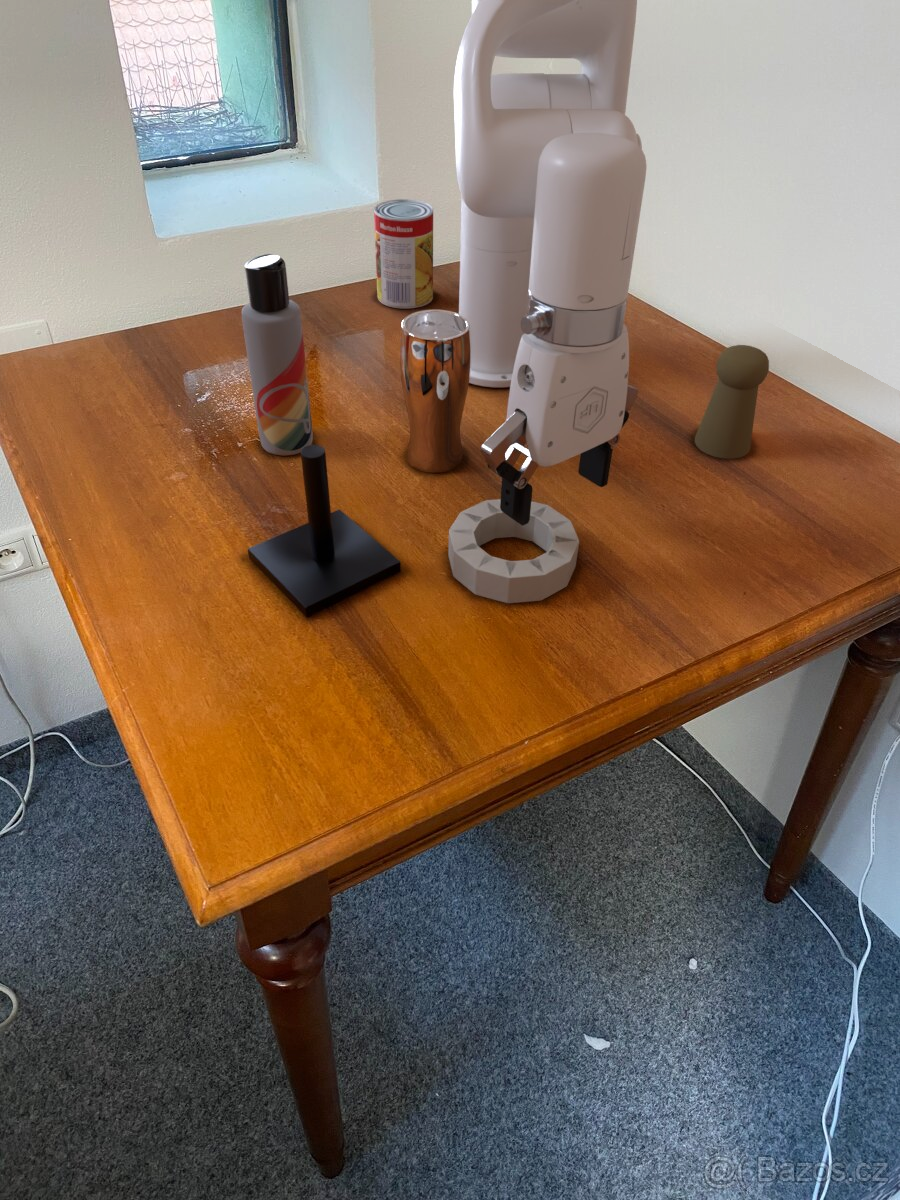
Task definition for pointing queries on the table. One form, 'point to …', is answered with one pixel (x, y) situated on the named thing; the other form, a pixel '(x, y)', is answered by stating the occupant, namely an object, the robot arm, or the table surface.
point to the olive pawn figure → (733, 403)
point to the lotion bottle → (276, 358)
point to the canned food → (404, 253)
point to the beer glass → (435, 386)
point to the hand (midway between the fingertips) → (554, 498)
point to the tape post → (322, 549)
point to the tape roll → (512, 576)
